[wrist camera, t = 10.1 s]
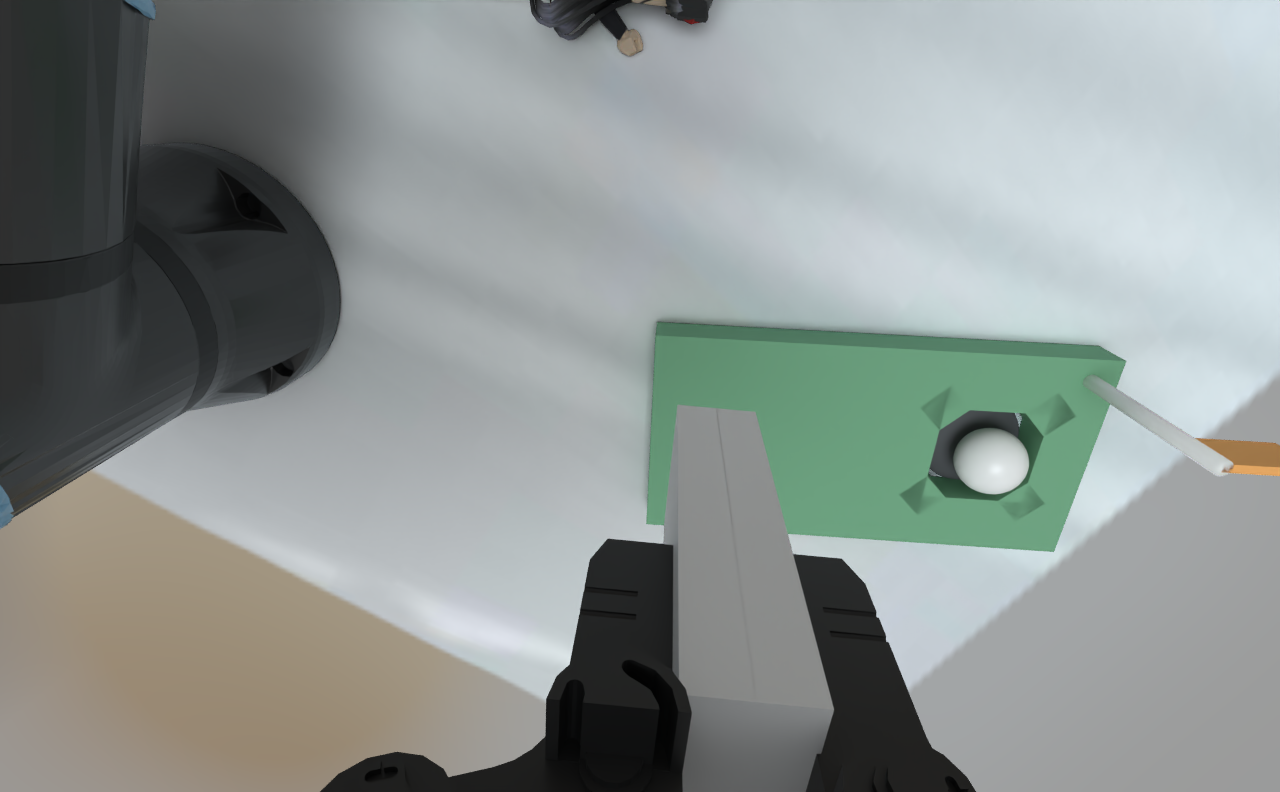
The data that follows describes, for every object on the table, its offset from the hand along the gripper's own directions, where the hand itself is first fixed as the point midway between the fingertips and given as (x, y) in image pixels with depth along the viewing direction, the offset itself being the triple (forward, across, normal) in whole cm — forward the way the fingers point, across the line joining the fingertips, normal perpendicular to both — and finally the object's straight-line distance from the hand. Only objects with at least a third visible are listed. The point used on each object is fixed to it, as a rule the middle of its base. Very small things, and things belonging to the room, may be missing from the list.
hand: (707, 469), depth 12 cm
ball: (+23, +20, -11) cm, 32 cm away
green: (+25, +13, -11) cm, 31 cm away
